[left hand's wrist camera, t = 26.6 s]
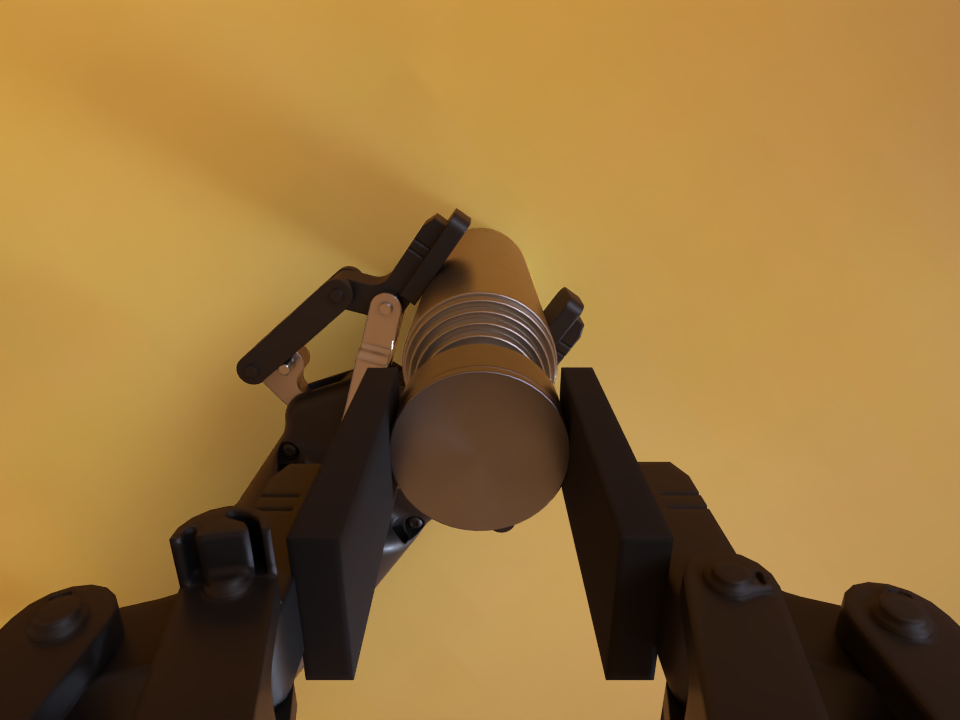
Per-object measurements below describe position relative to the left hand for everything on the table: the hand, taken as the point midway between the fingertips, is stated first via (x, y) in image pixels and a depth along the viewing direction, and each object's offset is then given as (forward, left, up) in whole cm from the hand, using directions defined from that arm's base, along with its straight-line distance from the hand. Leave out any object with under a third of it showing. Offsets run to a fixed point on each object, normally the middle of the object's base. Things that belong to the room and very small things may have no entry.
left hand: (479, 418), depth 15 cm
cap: (0, 0, +2) cm, 2 cm away
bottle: (0, 0, -16) cm, 16 cm away
